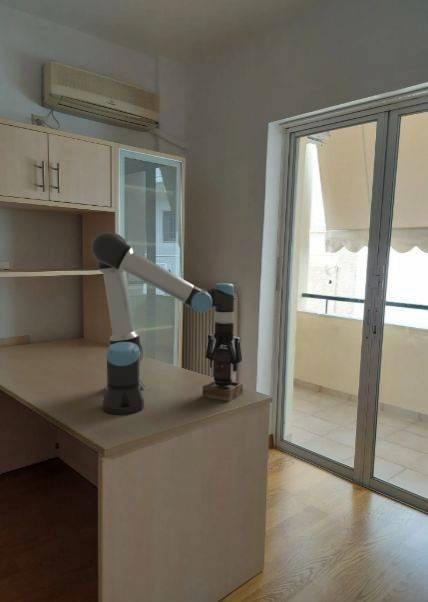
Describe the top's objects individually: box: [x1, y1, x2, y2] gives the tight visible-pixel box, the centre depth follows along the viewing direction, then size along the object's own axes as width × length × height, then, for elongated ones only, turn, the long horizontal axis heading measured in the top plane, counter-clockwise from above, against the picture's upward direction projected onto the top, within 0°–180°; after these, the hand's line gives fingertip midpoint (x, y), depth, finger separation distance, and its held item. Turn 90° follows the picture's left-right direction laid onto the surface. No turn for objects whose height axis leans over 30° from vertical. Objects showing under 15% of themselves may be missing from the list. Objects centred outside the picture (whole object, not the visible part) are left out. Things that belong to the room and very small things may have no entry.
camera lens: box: [213, 345, 234, 386], centre depth 180 cm, size 8×8×15 cm
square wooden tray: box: [202, 379, 244, 402], centre depth 181 cm, size 12×12×4 cm
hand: (223, 377), depth 180 cm, fingers closed on camera lens, 8 cm apart
